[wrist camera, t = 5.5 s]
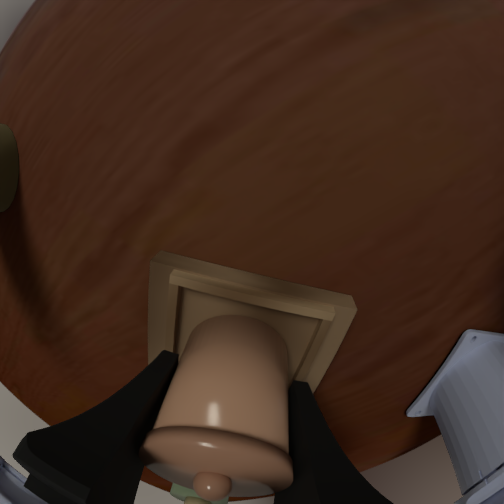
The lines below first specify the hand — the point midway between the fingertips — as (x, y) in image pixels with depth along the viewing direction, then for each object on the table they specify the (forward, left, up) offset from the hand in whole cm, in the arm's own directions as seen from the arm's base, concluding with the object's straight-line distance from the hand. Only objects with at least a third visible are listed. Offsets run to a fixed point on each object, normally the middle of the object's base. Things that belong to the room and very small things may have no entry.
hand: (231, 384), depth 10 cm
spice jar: (0, 0, -2) cm, 2 cm away
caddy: (0, +7, -3) cm, 8 cm away
